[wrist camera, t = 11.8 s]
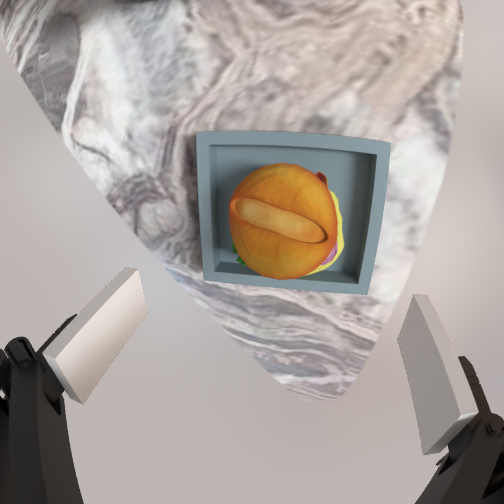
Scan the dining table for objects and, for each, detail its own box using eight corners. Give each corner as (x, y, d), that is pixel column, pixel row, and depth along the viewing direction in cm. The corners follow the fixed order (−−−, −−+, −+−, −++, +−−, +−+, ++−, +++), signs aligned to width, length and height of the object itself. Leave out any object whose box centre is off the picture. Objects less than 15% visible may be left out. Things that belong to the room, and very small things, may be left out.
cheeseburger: (261, 279, 32) (231, 315, 22) (233, 185, 31) (190, 183, 21) (352, 259, 29) (360, 289, 19) (325, 158, 27) (322, 140, 18)
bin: (206, 131, 27) (196, 132, 24) (382, 140, 24) (390, 142, 21) (212, 267, 33) (203, 280, 31) (362, 280, 30) (367, 295, 28)
